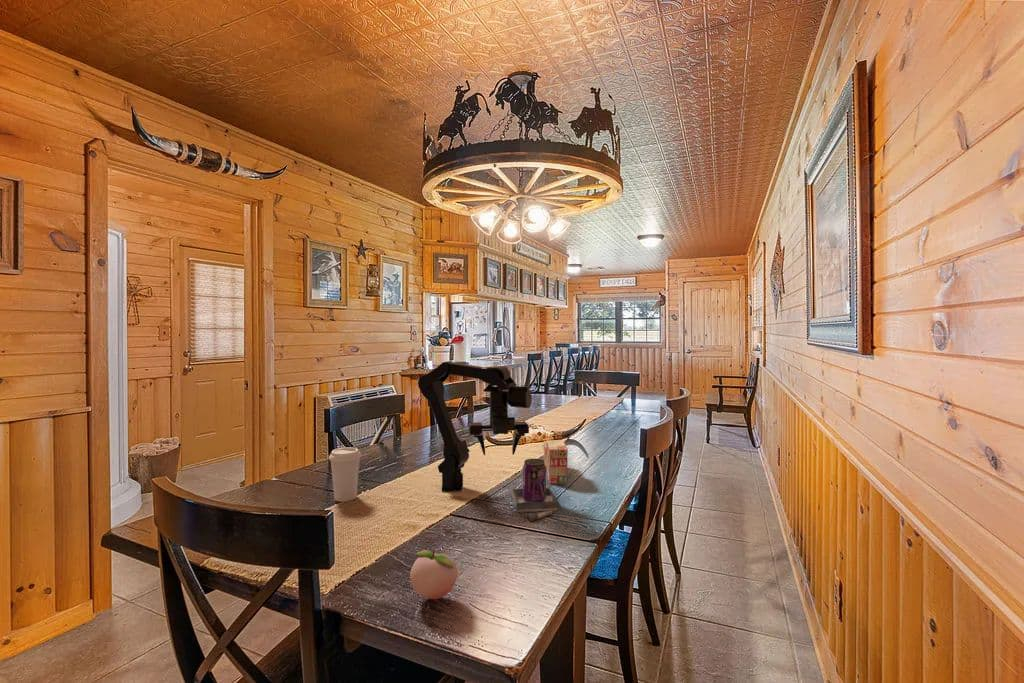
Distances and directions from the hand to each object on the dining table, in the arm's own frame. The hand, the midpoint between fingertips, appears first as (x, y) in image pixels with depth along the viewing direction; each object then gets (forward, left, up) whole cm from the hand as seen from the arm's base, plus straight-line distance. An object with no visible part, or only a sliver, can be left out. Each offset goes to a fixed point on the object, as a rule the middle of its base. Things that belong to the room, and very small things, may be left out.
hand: (498, 454), depth 150 cm
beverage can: (+10, -7, -13) cm, 18 cm away
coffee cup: (-48, +3, -13) cm, 50 cm away
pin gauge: (+10, -19, -13) cm, 25 cm away
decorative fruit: (-18, -56, -13) cm, 60 cm away
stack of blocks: (+22, +19, -13) cm, 32 cm away
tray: (+10, -8, -13) cm, 18 cm away
